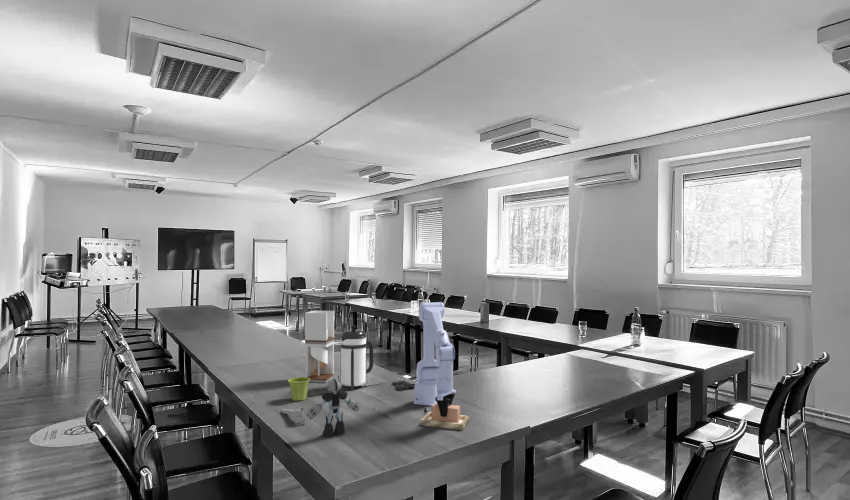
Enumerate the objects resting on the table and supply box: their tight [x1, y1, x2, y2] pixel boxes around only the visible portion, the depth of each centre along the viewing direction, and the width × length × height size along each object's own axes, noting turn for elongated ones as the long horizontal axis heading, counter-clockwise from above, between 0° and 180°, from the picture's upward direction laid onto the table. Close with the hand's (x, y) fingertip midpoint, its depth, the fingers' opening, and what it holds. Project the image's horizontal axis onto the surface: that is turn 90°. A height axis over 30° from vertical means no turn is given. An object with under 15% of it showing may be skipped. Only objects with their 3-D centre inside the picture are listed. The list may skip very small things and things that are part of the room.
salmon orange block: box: [431, 403, 461, 423], centre depth 173 cm, size 10×4×5 cm, turn 71°
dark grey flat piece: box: [391, 380, 415, 392], centre depth 227 cm, size 20×25×3 cm
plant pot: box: [287, 376, 310, 402], centre depth 205 cm, size 9×9×9 cm
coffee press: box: [339, 324, 374, 391], centre depth 227 cm, size 17×16×30 cm
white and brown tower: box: [304, 310, 335, 384], centre depth 239 cm, size 11×11×35 cm
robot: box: [305, 375, 361, 438], centre depth 163 cm, size 20×5×20 cm, turn 120°
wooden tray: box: [420, 411, 470, 431], centre depth 173 cm, size 16×10×2 cm, turn 71°
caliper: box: [280, 406, 306, 426], centre depth 180 cm, size 21×1×6 cm, turn 39°
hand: (445, 414), depth 173 cm, fingers closed on salmon orange block, 4 cm apart
